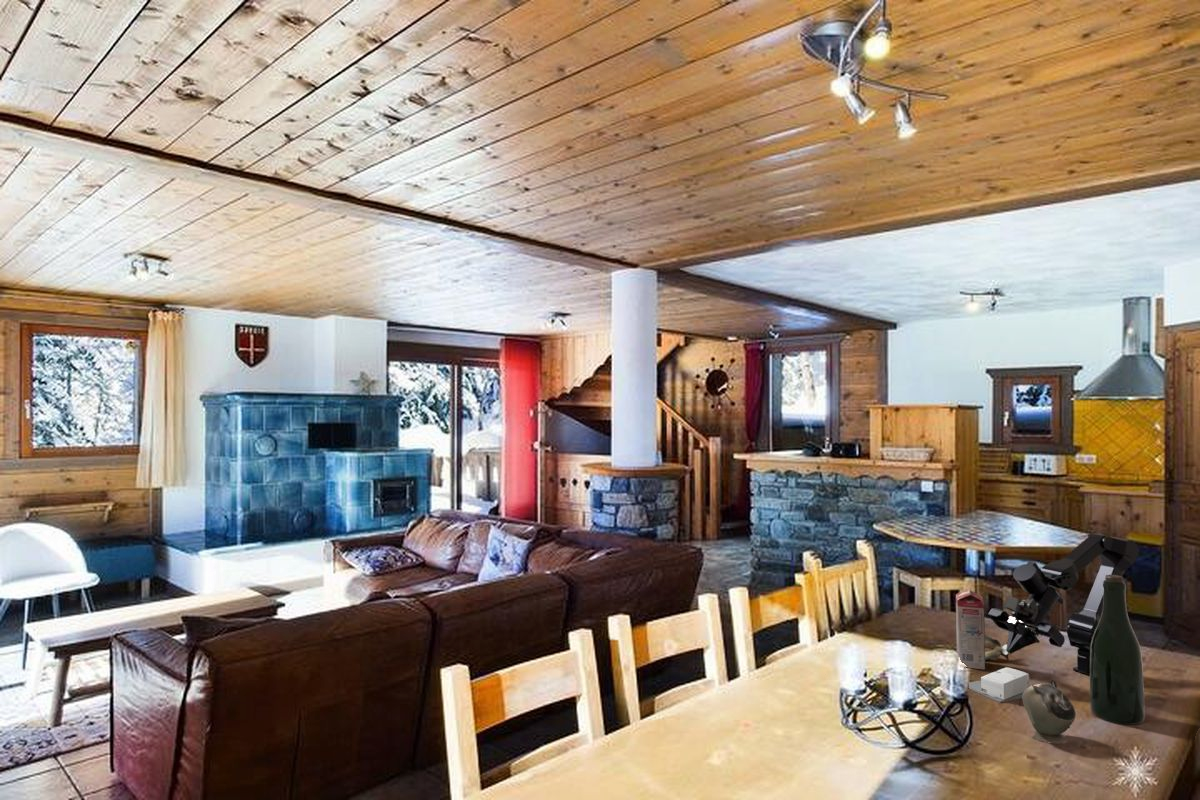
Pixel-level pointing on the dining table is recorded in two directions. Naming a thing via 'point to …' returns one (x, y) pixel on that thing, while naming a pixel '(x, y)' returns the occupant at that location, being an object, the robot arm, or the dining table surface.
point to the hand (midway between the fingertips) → (1008, 652)
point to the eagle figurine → (995, 648)
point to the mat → (976, 687)
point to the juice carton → (970, 629)
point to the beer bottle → (1116, 661)
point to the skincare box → (1004, 683)
